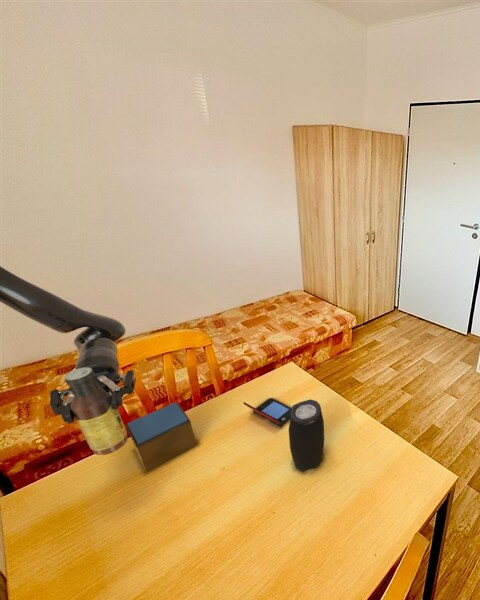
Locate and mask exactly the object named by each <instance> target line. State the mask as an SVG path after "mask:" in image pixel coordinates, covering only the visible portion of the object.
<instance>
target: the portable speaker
mask: <svg viewBox="0 0 480 600" xmlns="http://www.w3.org/2000/svg"><path fill="white" fill-rule="evenodd" d="M290 408H291V411H290V413H291V416H290V420H289V425H288V441H289V450H290V454H291V457H292V460H293V461H292V462H293V463H294V466H295V469H296V470H298V471H300V472H302V473H303V472H305V471H310V470H313V469H317V468H319V467H320V465H321V464H322V462H323V456H324V449H325V421H324V415H323V411H322V406H321V404H320V403H319V402H318V401H317V400H314V399H311V398H310V399H306V400H303V401H300V402H296V403H295V404H293V405H292V406H291V407H290Z"/></svg>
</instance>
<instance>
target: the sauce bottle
mask: <svg viewBox="0 0 480 600" xmlns="http://www.w3.org/2000/svg"><path fill="white" fill-rule="evenodd" d="M94 375H95V374H94V372H93V370H92V369H91V368H89V367H84V368H79V369H75V368H74V369H73V370H71V371H69V372H67V373H66V374H65V376H64V381H65V383H66V384H67V385H68V386H69V387H70V388H71V390H72V394H73V395H74V398H73V400H72V402H71V409H72V411H73V413H74V415H75V419H74V420H75V421H76V423H77V426H78V427H79V428H80V431H81V433H82V436H83V437H84V439H85V441H86V443H87V444H88V446H89V448H90V450H92V452H93V454H94V455H97V456H106V455H110V454H112V453H114V452H116V451H118V450H119V449H121V448H122V447H124V446H125V444H126V443H127V442H128V430H127V428H126V425H125V424H124V422H123V419H122V416H121V414H120V411H119V409H116V410H114V409H113V406H112V403H111V397H112V396H111V395H110V394H109V393H108V392H106V391H105V390H104V389H103V388H101V387H100V386H99V385H98V383H97V382H96V379H95V377H94Z"/></svg>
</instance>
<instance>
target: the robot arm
mask: <svg viewBox="0 0 480 600" xmlns="http://www.w3.org/2000/svg"><path fill="white" fill-rule="evenodd" d="M0 303H2V304H3V305H5V306H7V307H8V308H10V309H12V310H13V311H15V312H17V313H19V314H21V315H23V316H24V317H26V318H28V319H30V320H32V321H34V322H36V323H38V324H40V325H43V326H45V327H46V328H49V329H51V330H53V331H55V332H57V333H59V334H69V333H71V332H75V331H76V330H79V329H83V328H85V329H83V330H82V331H81V332H80V333H78V334H77V335H76V336H75V338H74V340H73V345H74V346H75V348H76V349H77V351H78V353H79V354H78V358H77V360H76V362H75V366H74V370H75V369H79V368H84V367H89V368H91V369H92V370H93V372H94V374H95V375H94V377H95V379H96V382H97V383H98V385H99V386H100V387H101V388H103V389H104V390H105V391H106V392H108V393H109V394H110V395H111V396H112V397H111V403H112V406H113V409H114V410H116V409H118V410H119V409H120V407H121V406H123V398H124V396H125V395H132V394H133V393H134V392H135V385H136V381H137V377H136V374H135V372H134V370H133V369H130V370H127V371H126V373H125V374H124V373H123V374H119V368H120V363H119V357H118V345H117V344H116V342H118V341H120V339H122V338H123V337H124V336H125V334H126V328H125V325H124V324H123V323H122V322H120V321H119V320H117V319H115V318H113V317H110V316H107V315H102V314H100V313H99V314H98V313H95V312H92V311H89V310H86V309H83V308H81V307H79V306H77V305H75V304H73V303H71V302H69V301H67V300H66V299H64V298H62V297H60V296H58V295H56V294H55V293H52V292H50V291H48V290H47V289H44V288H42V287H40V286H38V285H37V284H36V285H35V284H34V283H32V282H30V281H28V280H27V279H24V278H22V277H20V276H18V275H16V274H14V273H12V272H11V271H9V270H8V269H6V268H4V267H2V266H1V265H0ZM121 381H122V382H123V385H122V386H119V384H121ZM67 397H68V398H67ZM73 398H74V395H73V394H72V390H71V388H70V386H69V387H68V388H67V389H66V388H65V389H63V390H59V389H58V388H55V389H52V390H51V391H49V406H50V408H51V410H52V413H54V415H55V416H60V415H61V416H60V417H61V418H62V420H63V422H64V423H67V425H70V424H74V423H75V420H76V419H75V415H74V413H73V411H72V409H71V402H72V400H73Z"/></svg>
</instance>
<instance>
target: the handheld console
mask: <svg viewBox="0 0 480 600" xmlns="http://www.w3.org/2000/svg"><path fill="white" fill-rule="evenodd" d="M242 404H243V405H244V406H246V407H247V408H249V409H251V410H252V411H253V414H256V415H257V416H259V417H261V418H263V419H267V420H268V421H269V422H270V423H272V424H274V425H276V426H277V427H278V428H282V427H283V426H284V425H285V424H287V423H288V421H289V422H290V416H291V413H290V411H291V408H292V407H291V406H289V405H286V404H284V403H282V402H281V401H279V400H276V399H275V398H273V397H270V398H268V399H266V400H265V401H264V402H262V403H261V404H260V405H258V406H257V407H254V406H252V405H250V404H249V403H246V402H245V401H243V402H242Z"/></svg>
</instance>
